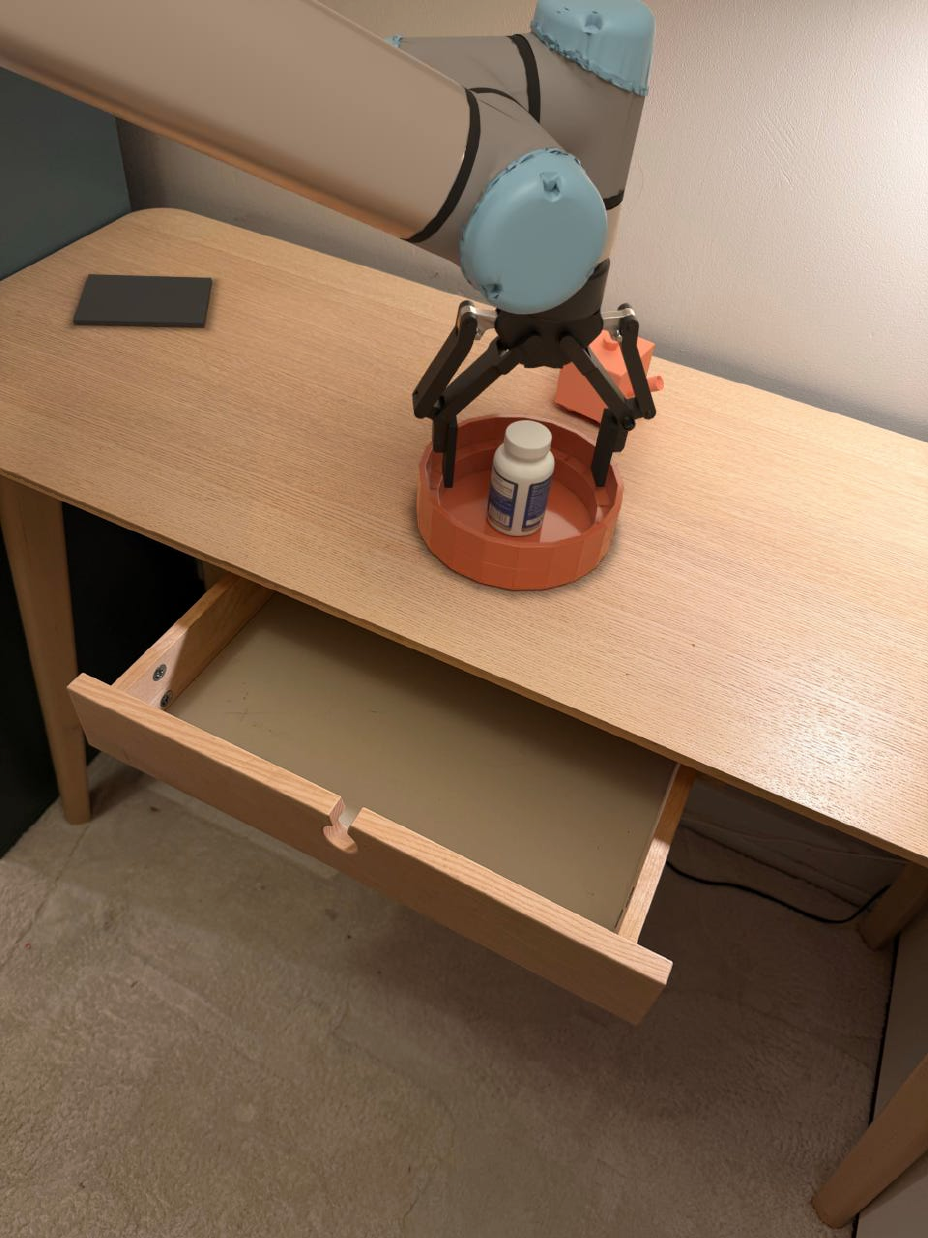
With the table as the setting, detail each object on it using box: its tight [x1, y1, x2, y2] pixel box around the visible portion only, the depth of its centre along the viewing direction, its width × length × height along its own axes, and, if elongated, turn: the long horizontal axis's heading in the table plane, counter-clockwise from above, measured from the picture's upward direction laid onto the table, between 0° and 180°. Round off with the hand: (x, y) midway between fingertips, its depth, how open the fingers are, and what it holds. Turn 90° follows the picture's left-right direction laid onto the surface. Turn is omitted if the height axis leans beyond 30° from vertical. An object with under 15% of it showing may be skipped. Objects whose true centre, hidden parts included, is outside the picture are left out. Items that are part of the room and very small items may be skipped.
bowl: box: [415, 413, 625, 591], centre depth 83 cm, size 18×18×6 cm
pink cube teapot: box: [553, 330, 665, 425], centre depth 95 cm, size 8×12×8 cm, turn 56°
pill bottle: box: [487, 420, 554, 536], centre depth 81 cm, size 5×5×10 cm
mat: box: [72, 273, 213, 328], centre depth 104 cm, size 14×10×1 cm
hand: (522, 477), depth 81 cm, fingers open, 13 cm apart
